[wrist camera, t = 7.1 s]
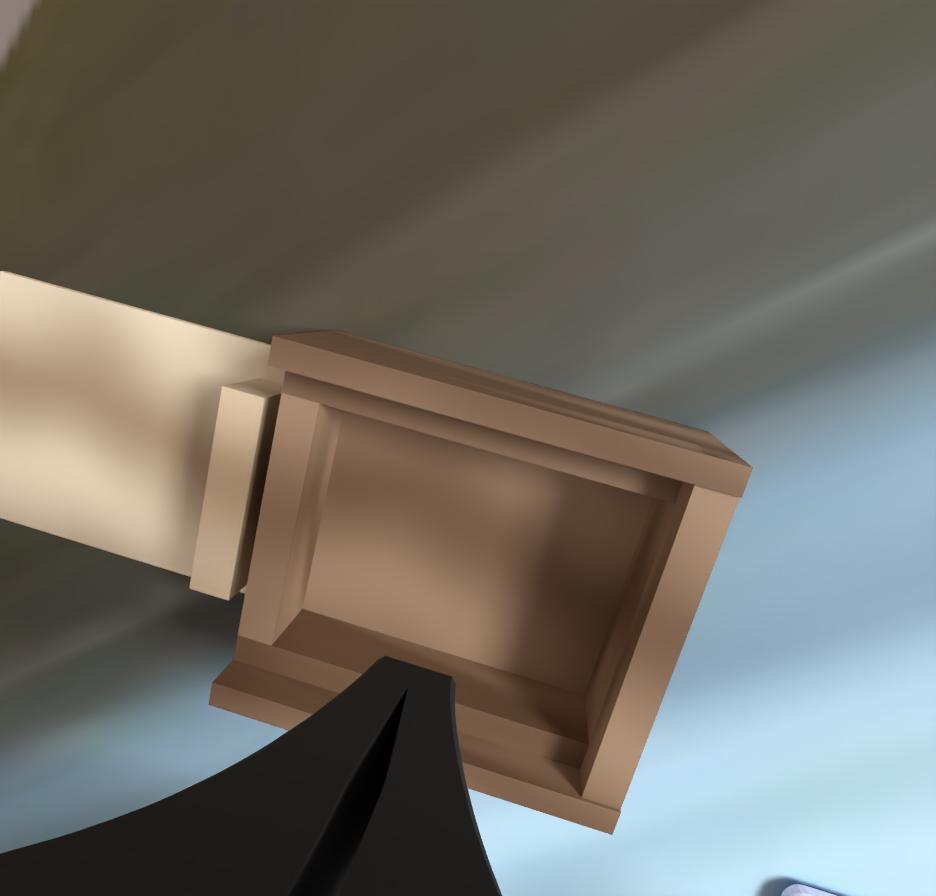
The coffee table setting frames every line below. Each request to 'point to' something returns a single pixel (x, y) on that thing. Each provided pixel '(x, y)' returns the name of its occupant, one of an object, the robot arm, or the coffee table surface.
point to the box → (479, 561)
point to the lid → (134, 431)
